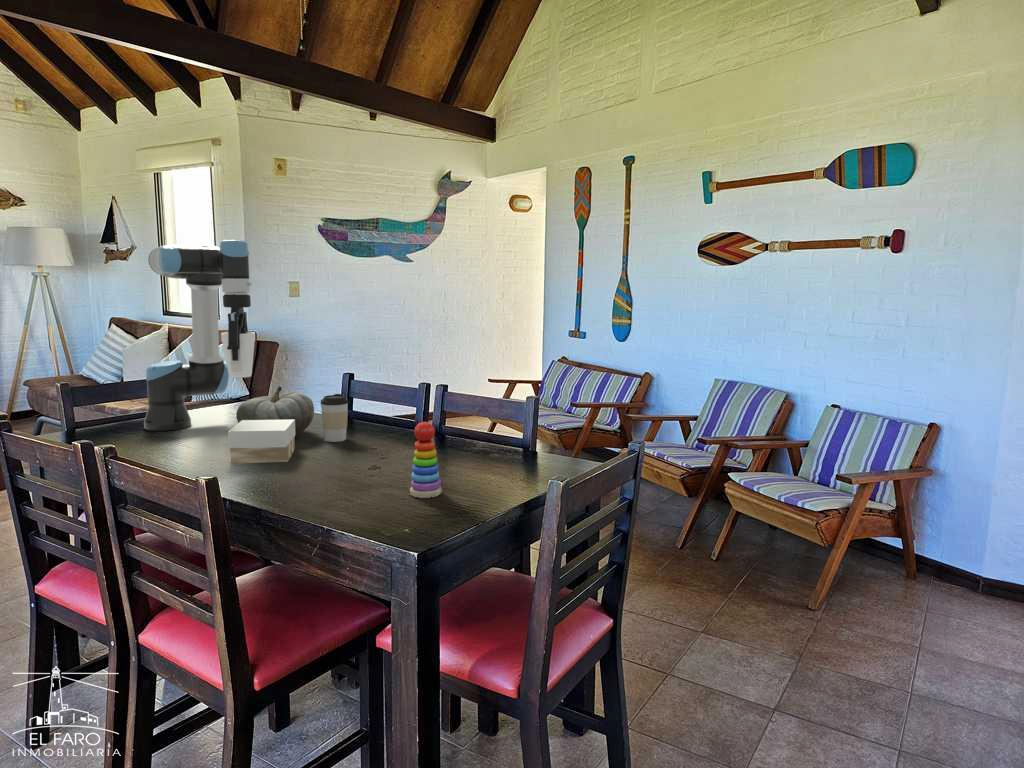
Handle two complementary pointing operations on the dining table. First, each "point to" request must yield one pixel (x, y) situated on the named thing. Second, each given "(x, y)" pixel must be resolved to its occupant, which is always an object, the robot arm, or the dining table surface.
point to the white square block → (261, 433)
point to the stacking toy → (425, 464)
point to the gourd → (279, 409)
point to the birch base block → (262, 454)
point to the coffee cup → (334, 417)
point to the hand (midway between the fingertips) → (240, 369)
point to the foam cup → (246, 354)
